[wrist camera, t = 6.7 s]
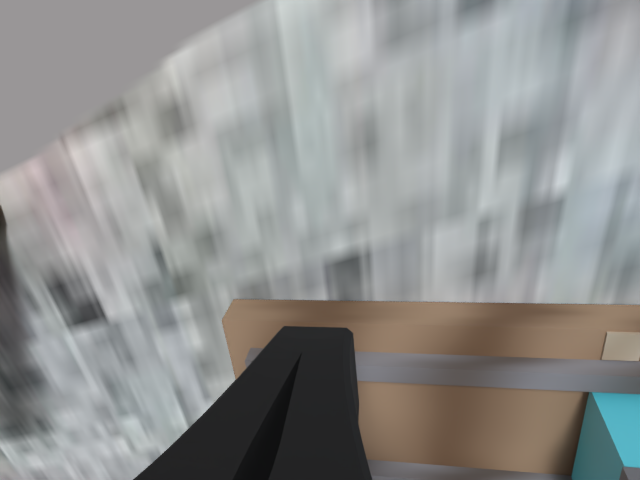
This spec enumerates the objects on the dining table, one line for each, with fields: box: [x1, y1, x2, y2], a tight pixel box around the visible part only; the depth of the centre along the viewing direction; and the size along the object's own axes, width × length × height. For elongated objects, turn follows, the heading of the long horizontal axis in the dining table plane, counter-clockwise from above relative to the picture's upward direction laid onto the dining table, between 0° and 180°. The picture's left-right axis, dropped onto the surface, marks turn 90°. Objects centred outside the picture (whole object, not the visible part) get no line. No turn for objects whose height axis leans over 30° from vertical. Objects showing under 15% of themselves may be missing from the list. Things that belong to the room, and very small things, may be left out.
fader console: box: [222, 299, 640, 480], centre depth 20 cm, size 20×10×2 cm, turn 96°
